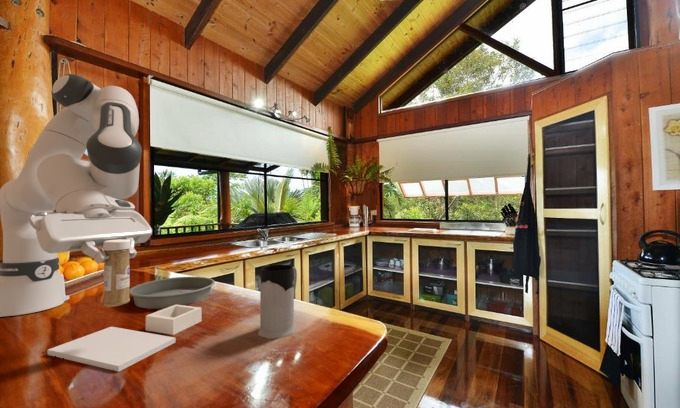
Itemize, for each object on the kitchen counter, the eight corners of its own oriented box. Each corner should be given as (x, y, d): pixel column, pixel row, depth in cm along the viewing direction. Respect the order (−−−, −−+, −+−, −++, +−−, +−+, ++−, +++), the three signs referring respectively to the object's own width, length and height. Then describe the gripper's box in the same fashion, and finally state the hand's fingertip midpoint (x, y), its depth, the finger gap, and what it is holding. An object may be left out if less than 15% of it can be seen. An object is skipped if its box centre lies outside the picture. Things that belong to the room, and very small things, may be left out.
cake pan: (192, 311, 83) (192, 295, 83) (107, 311, 83) (107, 295, 83) (226, 288, 108) (226, 276, 108) (160, 288, 108) (160, 276, 108)
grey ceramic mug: (250, 335, 66) (250, 270, 67) (281, 314, 80) (281, 259, 80) (284, 340, 64) (284, 272, 64) (310, 317, 77) (310, 261, 77)
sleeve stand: (145, 330, 69) (145, 315, 69) (176, 317, 78) (176, 304, 78) (173, 334, 67) (173, 319, 67) (201, 321, 75) (201, 307, 75)
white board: (47, 354, 58) (47, 349, 58) (111, 330, 69) (111, 326, 69) (118, 371, 52) (118, 366, 52) (175, 342, 63) (175, 337, 63)
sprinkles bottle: (129, 304, 60) (130, 240, 60) (101, 308, 58) (102, 242, 58) (130, 298, 64) (130, 238, 64) (104, 302, 62) (104, 239, 62)
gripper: (32, 201, 53) (66, 256, 50) (139, 202, 73) (168, 242, 70) (17, 224, 55) (49, 280, 52) (126, 220, 74) (154, 260, 71)
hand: (118, 258), depth 61 cm, fingers closed on sprinkles bottle, 4 cm apart
